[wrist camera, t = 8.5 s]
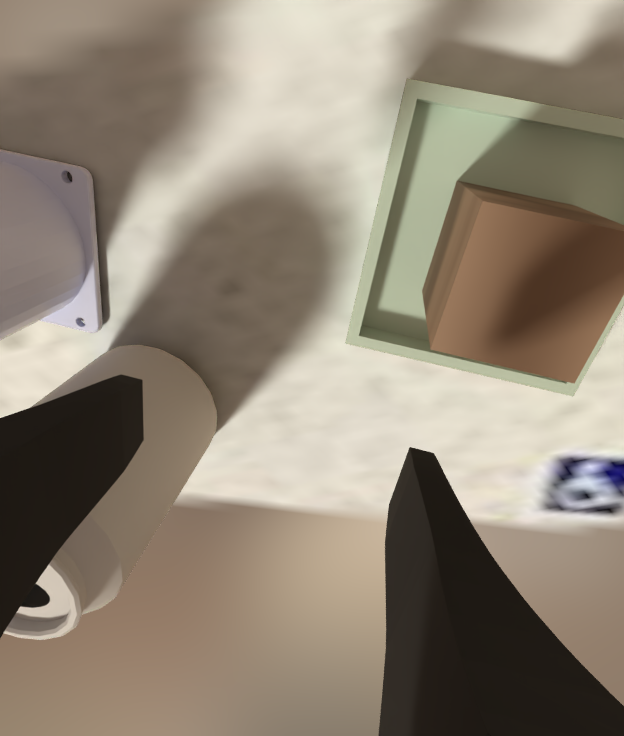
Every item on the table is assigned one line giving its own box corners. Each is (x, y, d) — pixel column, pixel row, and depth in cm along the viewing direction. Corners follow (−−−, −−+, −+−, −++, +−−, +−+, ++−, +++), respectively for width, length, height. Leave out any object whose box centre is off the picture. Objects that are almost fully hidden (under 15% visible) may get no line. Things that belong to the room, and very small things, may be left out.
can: (113, 445, 27) (-64, 637, 17) (83, 333, 24) (-165, 488, 13) (229, 457, 26) (116, 673, 16) (215, 341, 23) (56, 519, 12)
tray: (348, 329, 21) (345, 343, 20) (406, 83, 16) (406, 78, 15) (561, 378, 20) (573, 396, 19) (688, 136, 15) (716, 136, 14)
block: (421, 290, 19) (430, 349, 14) (456, 180, 17) (482, 200, 12) (525, 314, 19) (574, 383, 14) (575, 205, 17) (655, 237, 11)
